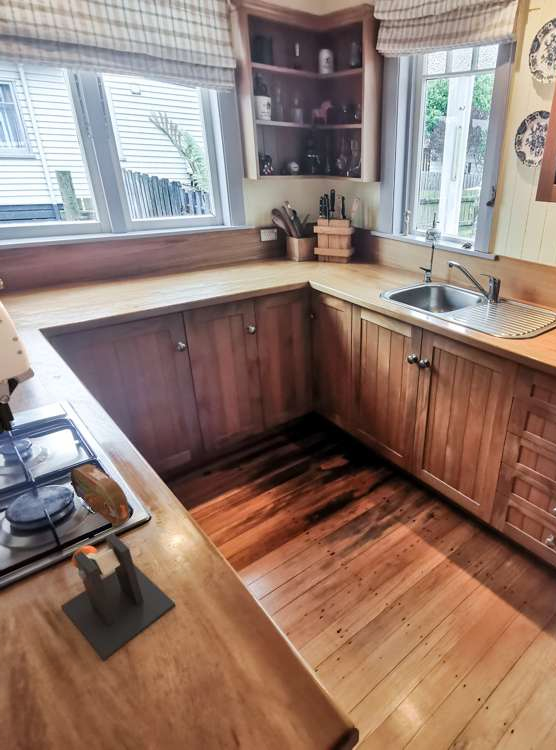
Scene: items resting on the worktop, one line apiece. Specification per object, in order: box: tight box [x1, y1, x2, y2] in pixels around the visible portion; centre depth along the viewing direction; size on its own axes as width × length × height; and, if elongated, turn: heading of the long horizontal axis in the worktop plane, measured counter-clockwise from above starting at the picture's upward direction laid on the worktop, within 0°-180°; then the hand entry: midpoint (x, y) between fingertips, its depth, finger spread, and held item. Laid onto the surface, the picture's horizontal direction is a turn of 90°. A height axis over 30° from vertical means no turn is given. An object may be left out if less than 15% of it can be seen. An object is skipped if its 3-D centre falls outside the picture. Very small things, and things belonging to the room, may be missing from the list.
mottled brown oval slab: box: [70, 463, 131, 529], centre depth 81 cm, size 15×3×8 cm, turn 55°
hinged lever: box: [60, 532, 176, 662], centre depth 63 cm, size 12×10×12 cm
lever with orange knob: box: [71, 545, 120, 576], centre depth 65 cm, size 12×3×3 cm, turn 53°
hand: (1, 428), depth 62 cm, fingers closed
